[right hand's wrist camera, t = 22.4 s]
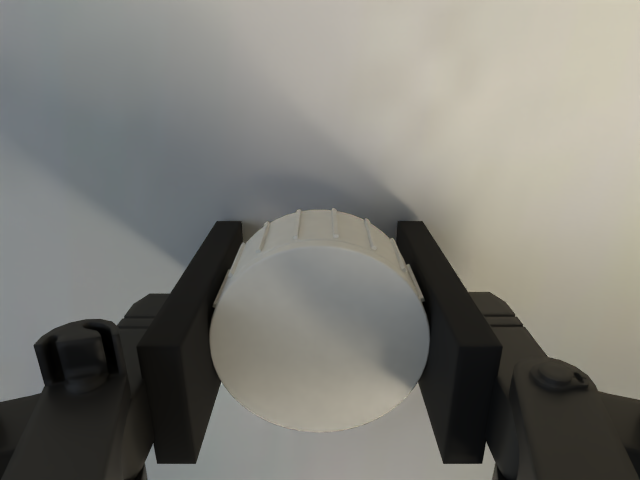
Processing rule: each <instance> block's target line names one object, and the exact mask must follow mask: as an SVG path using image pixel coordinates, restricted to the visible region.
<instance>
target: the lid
mask: <svg viewBox="0 0 640 480" xmlns="http://www.w3.org/2000/svg"><path fill="white" fill-rule="evenodd" d="M424 301H425V300H424V297H423V295H422V292H421V290H420V288H419V285H418V283H417V281H416V279H415V276H414V274H413V272H412V269H411V267H410V265H409V264H407V265H406V264H405V261H404V259H403V257H402V255H401V253H400V252H399V249H398V247H397V244H396V242H395V240H394V239H393V238H391V239H389V238H388V237H387V236H386V235H385V234H384V233H383V232H382V231H381V230H379V229H378V228H377V227H375V226H374V225H373V224H371V223H370V221H369V219H367V218H365V219H364V220H363V219H361V218H359V217H356V216H354V215H351V214H348V213H344V212H339V211H336V209H335V208H332V210H307V211H301V209H299V210H297V211H296V213H292V214H288V215H286V216H283V217H281V218H278V219H276V220H274V221H272V222H271V223H269V221H267V222H266V223H265V224H264V227H263V228H261V229H260V230H259V231H257V232H256V233H255V234H254V235H253V236H252V237H251V238H250V239H249V240H248V241H247V242H246V244H245V243H244V242H243V243H242V244H241V246H240V248H239V250H238V253H237V255H236V257H235V260H234V262H233V264H232V267H231V269H230V270H229V269H228V272H227V274H226V276H225V278H224V281H223V283H222V285H221V288H220V290H219V292H218V294H217V297H216V299H215V301H214V304H213V307H214V308H215V310H214V313H213V315H212V319H211V324H210V329H209V344H210V352H211V357H212V361H213V365H214V367H215V370H216V372H217V374H218V376H219V378H220V380H221V382H222V383H223V385H224V386H225V388H226V389H227V390H228V392H229V393H230V394H231V395H232V396H233V398H235V399H236V400H237V401H238V402H239V403H240V404H241V405H242V406H243V407H245V408H246V409H247V410H249V411H250V412H252V413H253V414H255V415H256V416H258V417H260V418H262V419H264V420H266V421H268V422H270V423H273V424H275V425H278V426H281V427H285V428H288V429H293V430H298V431H305V432H335V431H342V430H347V429H351V428H355V427H358V426H361V425H364V424H367V423H369V422H371V421H374V420H376V419H378V418H380V417H381V416H383V415H385V414H386V413H388V412H389V411H391V410H392V409H393V408H395V407H396V406H397V405H399V404H400V403H401V402H402V401H403V400H404V399H405V398H406V397H407V396H408V395H409V393H410V392H411V391H412V390H413V388H414V387H415V386H416V384H417V382H418V380H419V379H420V377H421V375H422V373H423V370H424V368H425V366H426V363H427V359H428V354H429V346H430V327H429V323H428V318H427V314H426V312H425V309H424V307H423V304H422V302H424Z"/></svg>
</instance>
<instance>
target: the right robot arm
mask: <svg viewBox="0 0 640 480" xmlns="http://www.w3.org/2000/svg"><path fill="white" fill-rule="evenodd" d="M242 243H243V237H242V223H241V221H217V222H216V223H215V225H214V226H213V228H212V230H211V231H210V233H209V234H208V236H207V237H206V239H205V240H204V242H203V244H202V245H201V247H200V248H199V250H198V251H197V253H196V254H195V256H194V258H193V259H192V261H191V262H190V264H189V265H188V267H187V268H186V270H185V271H184V273H183V275H182V276H181V278H180V279H179V281H178V282H177V284H176V285H175V287H174V289H173V290H172V292H171V293H170V294H149V295H147V296H145V297H144V298H142V299H141V300H139V301H138V302H136V303H134V304H133V305H132V307H131V308H130V309H129V311H128V312H127V313H126V315H125V316H124V319H122V320H121V321H120V322H119V324H118V325H115V324H114V323H113V322H111V321H107V320H103V319H85V320H81V321H76V322H71V323H68V324H65V325H63V326H60V327H57V328H55V329H53V330H51V331H50V332H48V333H47V334H45V335H43V336H42V337H41V338H40V339H39V340H38V341H37V342H36V343H35V344H34V348H35V352H36V356H37V359H38V363H39V366H40V370H41V374H42V377H43V381H44V384H45V387H44V389H43V391H42V393H40V394H36V395H32V396H28V397H23V398H18V399H13V400H8V401H3V402H0V480H147V473H146V468H145V460H146V458H147V456H148V454H149V451H150V449H151V447H152V444H153V443H154V449H155V455H156V460H157V464H196V461H197V458H198V455H199V452H200V448H201V445H202V442H203V439H204V436H205V432H206V429H207V426H208V423H209V419H210V416H211V413H212V410H213V406H214V403H215V400H216V397H217V393H218V390H219V387H220V384H221V380H220V378H219V376H218V374H217V372H216V370H215V367H214V365H213V361H212V357H211V352H210V344H209V329H210V324H211V319H212V315H213V313H214V310H215V308H214V307H213V304H214V301H215V299H216V297H217V294H218V292H219V290H220V288H221V285H222V283H223V281H224V278H225V276H226V274H227V272H228V269H229V270H230V269H231V267H232V264H233V262H234V260H235V257H236V255H237V253H238V250H239V248H240V246H241V244H242ZM396 244H397V247H398V249H399V252H400V253H401V255H402V257H403V259H404V261H405V264H406V265H407V264H409V265H410V267H411V269H412V272H413V274H414V276H415V279H416V281H417V283H418V285H419V288H420V290H421V292H422V295H423V297H424V300H425V301H424V302H422V304H423V307H424V309H425V312H426V314H427V318H428V323H429V327H430V346H429V354H428V359H427V363H426V366H425V368H424V370H423V373H422V375H421V377H420V379H419V380H418V383H419V386H420V389H421V393H422V396H423V399H424V402H425V406H426V409H427V412H428V415H429V419H430V422H431V425H432V428H433V432H434V435H435V438H436V441H437V445H438V448H439V451H440V454H441V457H442V461H443V464H482V461H483V456H484V450H485V444H486V442H487V444H488V446H489V449H490V451H491V453H492V455H493V458H494V460H495V468H494V473H493V478H492V480H640V400H637V399H632V398H627V397H622V396H617V395H612V394H607V393H603V392H600V391H598V390H597V388H596V386H595V384H594V383H593V382H592V380H591V379H590V378H589V376H588V375H586V374H585V373H584V372H582V371H581V370H579V369H578V368H577V367H575V366H573V365H570V364H568V363H566V362H564V361H561V360H557V359H553V358H549V357H548V356H547V355H546V354H545V353H544V351H543V350H542V349H541V347H540V346H539V345H538V344H537V342H536V341H535V340H534V338H533V337H532V336H531V334H530V333H529V332H528V331H527V329H526V328H525V327H523V324H522V323H521V322H520V320H519V319H518V318H517V317H515V314H514V312H513V311H512V310H511V309H510V307H509V306H508V305H507V303H506V302H504V301H503V300H501V299H500V298H498V297H496V296H495V295H493V294H492V293H490V292H468V291H467V290H466V288H465V287H464V285H463V284H462V282H461V281H460V279H459V277H458V276H457V274H456V273H455V271H454V270H453V268H452V267H451V265H450V263H449V262H448V260H447V259H446V257H445V256H444V254H443V253H442V251H441V249H440V248H439V246H438V245H437V243H436V242H435V240H434V239H433V237H432V235H431V234H430V232H429V231H428V229H427V228H426V226H425V225H424V223H423V221H398V226H397V241H396Z"/></svg>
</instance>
